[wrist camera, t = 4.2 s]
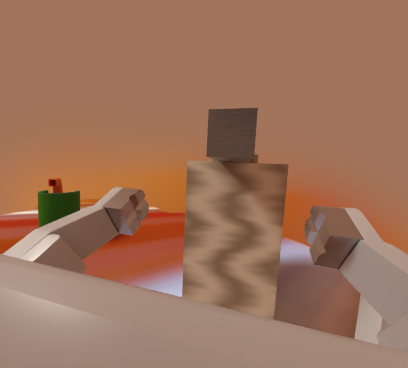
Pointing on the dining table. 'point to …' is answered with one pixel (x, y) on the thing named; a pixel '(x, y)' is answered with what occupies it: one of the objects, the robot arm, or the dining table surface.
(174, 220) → the dining table surface
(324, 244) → the robot arm
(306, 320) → the dining table surface
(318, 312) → the dining table surface
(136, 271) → the dining table surface
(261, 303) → the stand
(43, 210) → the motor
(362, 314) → the rack
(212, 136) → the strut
